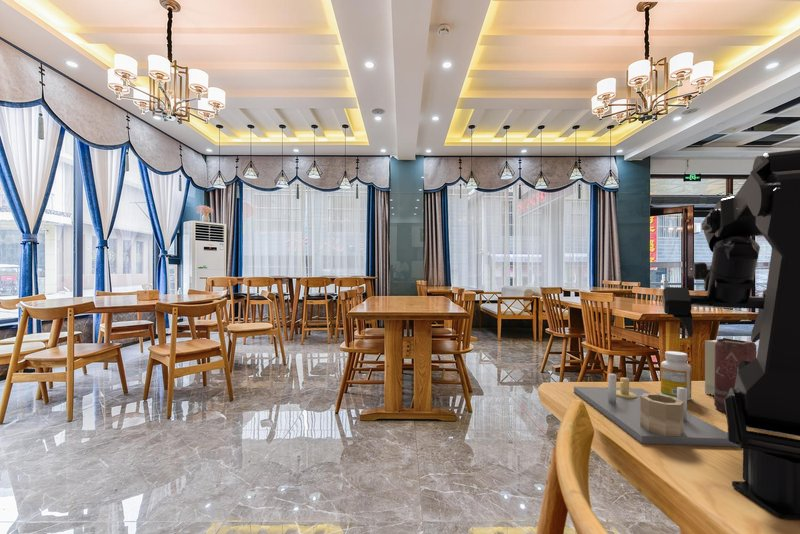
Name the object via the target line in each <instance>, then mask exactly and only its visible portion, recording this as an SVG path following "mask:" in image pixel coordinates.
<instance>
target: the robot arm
mask: <svg viewBox="0 0 800 534" xmlns="http://www.w3.org/2000/svg"><path fill="white" fill-rule="evenodd" d="M701 231H703V233H704V237H705V239H706V240H705V241H706V243H707V246H708V247H709V250H710V251H711V253H712V256H711V257H712V258H711V264H710V265H708V264H706V262H693V264H692V265H693V266H692V272H691V273H692V278H693V280H694V281H698V280H699V281H703V283H704V286H703V289H704V292H707V293H706V295H697V294H694V295H693V294H690V289H689V287H683V286H681V287H680V286H678V287H677V286H666V287H665V288H664V289H663V290H662V295H661V297H662V304H663V312H664V313H665V314H667V315H670V316H671V315H672V317H673V318H674V319H679V320H680V322H681V323H682V324H683V326H684V327H685V330H686V332H687V334H688V337H689V338H692V337H693V334H694V328H693V326H694V325H693V315H692V314H693V313H692V308H693V307H695V308H711V309H712V308H714V309H733V310H735V309H757V311H758V313H757V315H756V319H755V321H754V325H753V327H752V329H751V335H750V340H751V341H750V342H753V343H757V342H758V347H757V355H756V359H754V360H753V361H741V362H740V363H739V364H738V366H737V376H736V381H735V387H734V388H730V389H729V394H728V396H727V397H726V398H725V399H724V404H725V411H726V413H725V416H726V424H727V425H726V426H727V433H728V440H729V441H730V442H733V443H735V444H738V445H739V447H738V448H740V449H741V450H742V480H744V481H737V480H734V481H731V486H732V487H733V488H734V489H736V490H738V491H739V492H741V493H742V494H743V495H745V496H747V497H748V498H750V499H751V500H753V501H754V502H756V503H757V504H759V505H760V506H762V507H763V508H765V509H766V510H767V511H768V512H771V513H772V514H773V515H775V516H776V517H779V518H782V519H789V520H790V519H792V520H795V519H796V520H800V439H797V438H793V437H798V438H799V437H800V149H793V150H792V149H791V150H782V151H781V150H780V151H772V152H765V153H764V154H763V155H757V156H756V157H755V159H754V161H753V165H752V170H751V171H750V174H749V176H748V177H747V178H746V180H745V182H743V184H742V186H741V187H740V188H739V190H738V191H737V193H736V194H735V195H734V196H730V197H726V198H721V199H720V200H719V201H718V202H717V203H716V204H715V206H714V209H710V210H709V213H708V214H707V215H706V216H705V218H704V220H703V221H702V222H701ZM751 237H764V238H765V240H766V241H767V243H768V244H769V245H770V247H771V253H770V259H769V261H770V262H769V267H768V275H767V281H766V288H765V289H764V290H763V292H762V296H751V292H752V290H754V289H755V288H754V287H755V282H754V279H755V273H756V268H757V263H758V259H759V254H760V250H761V246H760V245H759V244H758V242H757V241H756V240H754V239H752V238H751ZM748 429H752V430H759V431H764V432H769V433H777V434H781V435H785V436H786V435H787V436H792V437H785V436H780V435H774V434H769V433H763V432H758V431H752V430H748Z"/></svg>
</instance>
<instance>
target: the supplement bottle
mask: <svg viewBox="0 0 800 534" xmlns="http://www.w3.org/2000/svg"><path fill="white" fill-rule="evenodd" d="M664 358H665V360H663V361H661V363H660V364H661V365H660V394H662V395H667V396H672V397H675V398H677V387H683V388H686V389H687V402H688V401H690V400H691V399H692V366H691V365H690V364H689V363H687V361H688V353H686V352H681V351H675V350H674V351H673V350H668V351H667V350H666V351H665V352H664Z"/></svg>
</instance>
